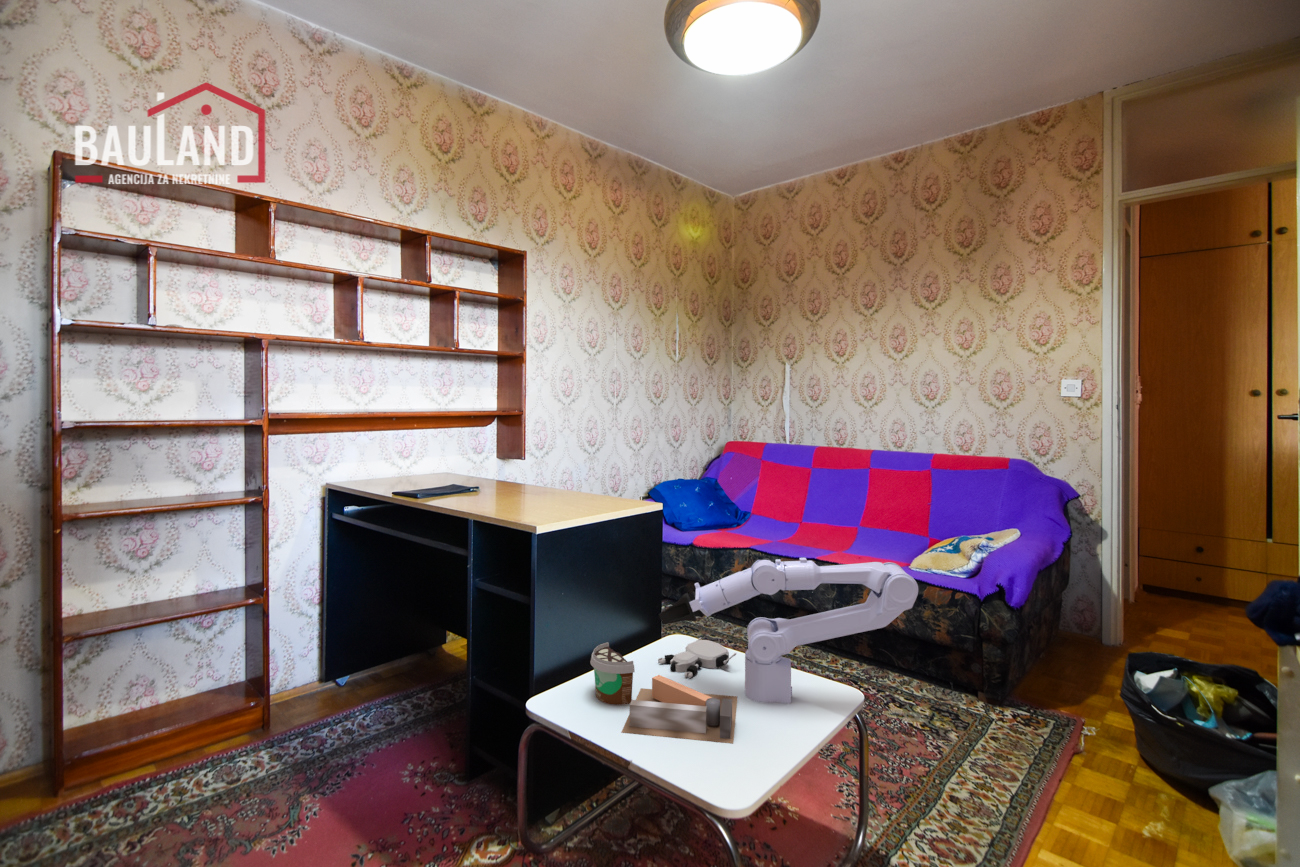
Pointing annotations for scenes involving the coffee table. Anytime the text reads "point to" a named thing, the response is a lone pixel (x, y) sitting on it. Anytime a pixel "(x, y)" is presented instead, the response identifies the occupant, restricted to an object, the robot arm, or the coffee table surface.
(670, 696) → the tong arm
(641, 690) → the tong board
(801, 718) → the coffee table surface
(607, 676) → the food container
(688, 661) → the robot toy
